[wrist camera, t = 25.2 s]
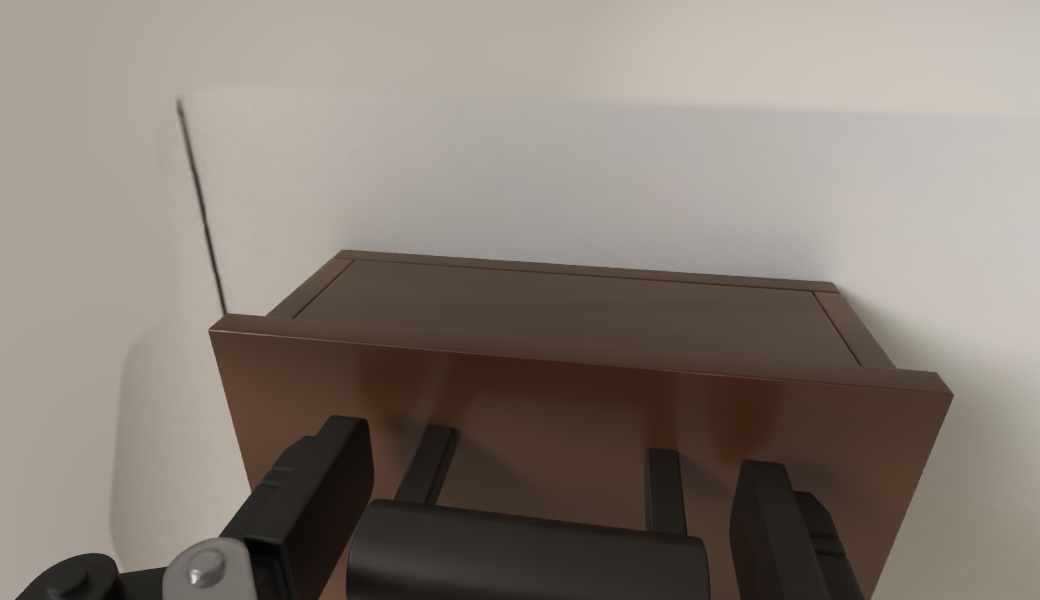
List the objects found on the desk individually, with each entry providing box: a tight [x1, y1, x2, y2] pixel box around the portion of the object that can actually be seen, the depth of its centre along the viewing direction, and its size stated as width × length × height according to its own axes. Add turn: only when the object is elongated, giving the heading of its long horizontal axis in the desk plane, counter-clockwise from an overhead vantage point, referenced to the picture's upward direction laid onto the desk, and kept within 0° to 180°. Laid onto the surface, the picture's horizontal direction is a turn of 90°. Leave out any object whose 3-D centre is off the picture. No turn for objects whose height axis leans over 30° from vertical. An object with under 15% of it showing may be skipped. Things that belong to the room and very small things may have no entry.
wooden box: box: [266, 250, 897, 369], centre depth 20 cm, size 14×16×6 cm
